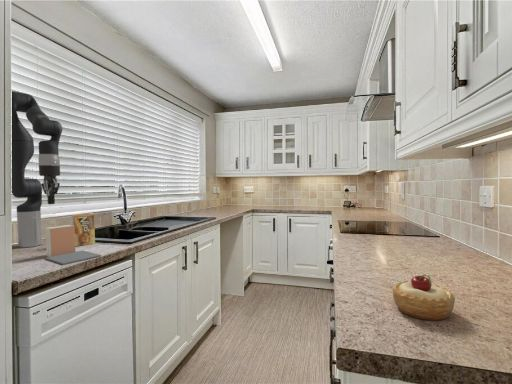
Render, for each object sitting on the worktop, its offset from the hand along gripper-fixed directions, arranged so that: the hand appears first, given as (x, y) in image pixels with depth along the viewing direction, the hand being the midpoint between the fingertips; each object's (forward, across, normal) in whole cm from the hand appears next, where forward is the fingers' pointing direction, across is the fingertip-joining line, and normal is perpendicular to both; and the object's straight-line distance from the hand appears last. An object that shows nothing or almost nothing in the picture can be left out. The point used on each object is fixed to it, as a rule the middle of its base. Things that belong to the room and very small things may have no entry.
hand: (51, 204), depth 124 cm
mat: (+22, +19, 0) cm, 29 cm away
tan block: (+22, +8, 0) cm, 23 cm away
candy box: (+22, -4, +15) cm, 27 cm away
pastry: (+23, +141, +19) cm, 144 cm away
